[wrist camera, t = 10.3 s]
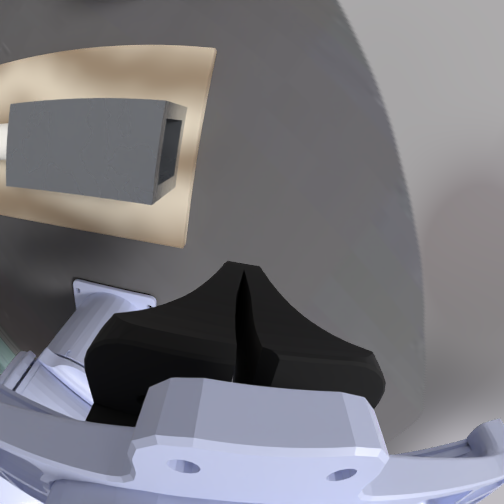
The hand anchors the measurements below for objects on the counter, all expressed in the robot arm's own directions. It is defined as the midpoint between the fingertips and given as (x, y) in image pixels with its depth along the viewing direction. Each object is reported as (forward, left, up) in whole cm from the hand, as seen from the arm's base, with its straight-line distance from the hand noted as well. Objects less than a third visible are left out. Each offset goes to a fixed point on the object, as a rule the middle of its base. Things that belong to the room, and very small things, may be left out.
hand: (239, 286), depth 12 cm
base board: (+4, +18, -10) cm, 21 cm away
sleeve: (+4, +11, -9) cm, 15 cm away
